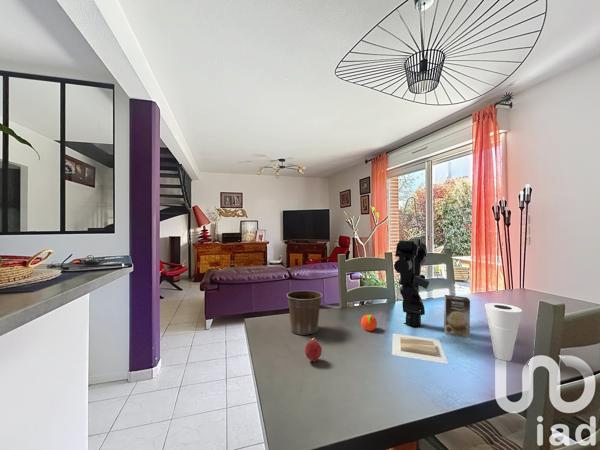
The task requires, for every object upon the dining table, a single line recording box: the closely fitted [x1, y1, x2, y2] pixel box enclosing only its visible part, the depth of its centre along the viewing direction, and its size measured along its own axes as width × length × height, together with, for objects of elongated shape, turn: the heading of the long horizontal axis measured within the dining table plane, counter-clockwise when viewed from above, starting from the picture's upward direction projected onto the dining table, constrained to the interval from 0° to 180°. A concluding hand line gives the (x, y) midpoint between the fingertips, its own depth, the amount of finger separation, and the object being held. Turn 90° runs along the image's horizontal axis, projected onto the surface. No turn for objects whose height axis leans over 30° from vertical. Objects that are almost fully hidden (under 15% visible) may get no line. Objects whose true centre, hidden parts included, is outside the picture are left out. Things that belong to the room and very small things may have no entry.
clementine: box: [360, 314, 378, 332], centre depth 118 cm, size 8×7×7 cm
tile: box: [400, 337, 437, 356], centre depth 100 cm, size 2×12×9 cm
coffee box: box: [443, 294, 471, 339], centre depth 114 cm, size 9×6×16 cm
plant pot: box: [286, 290, 323, 336], centre depth 119 cm, size 16×16×16 cm
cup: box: [484, 302, 523, 362], centre depth 94 cm, size 11×11×18 cm
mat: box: [391, 333, 449, 365], centre depth 101 cm, size 20×18×1 cm
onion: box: [304, 337, 323, 362], centre depth 91 cm, size 6×6×8 cm
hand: (407, 305), depth 113 cm, fingers closed
